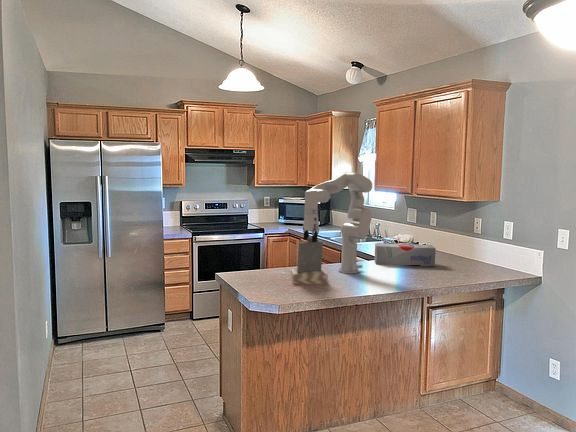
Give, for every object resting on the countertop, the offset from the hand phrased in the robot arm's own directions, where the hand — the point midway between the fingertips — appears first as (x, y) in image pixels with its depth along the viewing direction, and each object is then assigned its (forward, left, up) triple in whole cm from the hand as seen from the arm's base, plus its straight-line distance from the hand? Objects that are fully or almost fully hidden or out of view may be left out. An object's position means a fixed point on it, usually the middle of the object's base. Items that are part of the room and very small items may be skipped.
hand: (310, 240), depth 276 cm
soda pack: (-87, -17, -24) cm, 92 cm away
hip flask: (0, 0, -18) cm, 18 cm away
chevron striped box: (0, 0, -24) cm, 24 cm away
